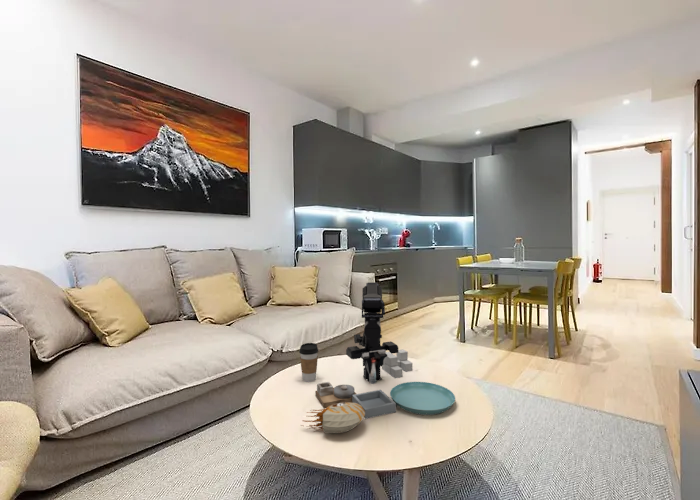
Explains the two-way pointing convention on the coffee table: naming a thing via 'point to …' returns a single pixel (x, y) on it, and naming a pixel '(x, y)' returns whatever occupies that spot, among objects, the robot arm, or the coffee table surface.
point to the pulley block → (333, 394)
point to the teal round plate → (422, 397)
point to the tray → (375, 403)
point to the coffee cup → (308, 361)
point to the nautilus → (338, 417)
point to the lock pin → (373, 371)
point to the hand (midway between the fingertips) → (372, 373)
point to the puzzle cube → (397, 363)
